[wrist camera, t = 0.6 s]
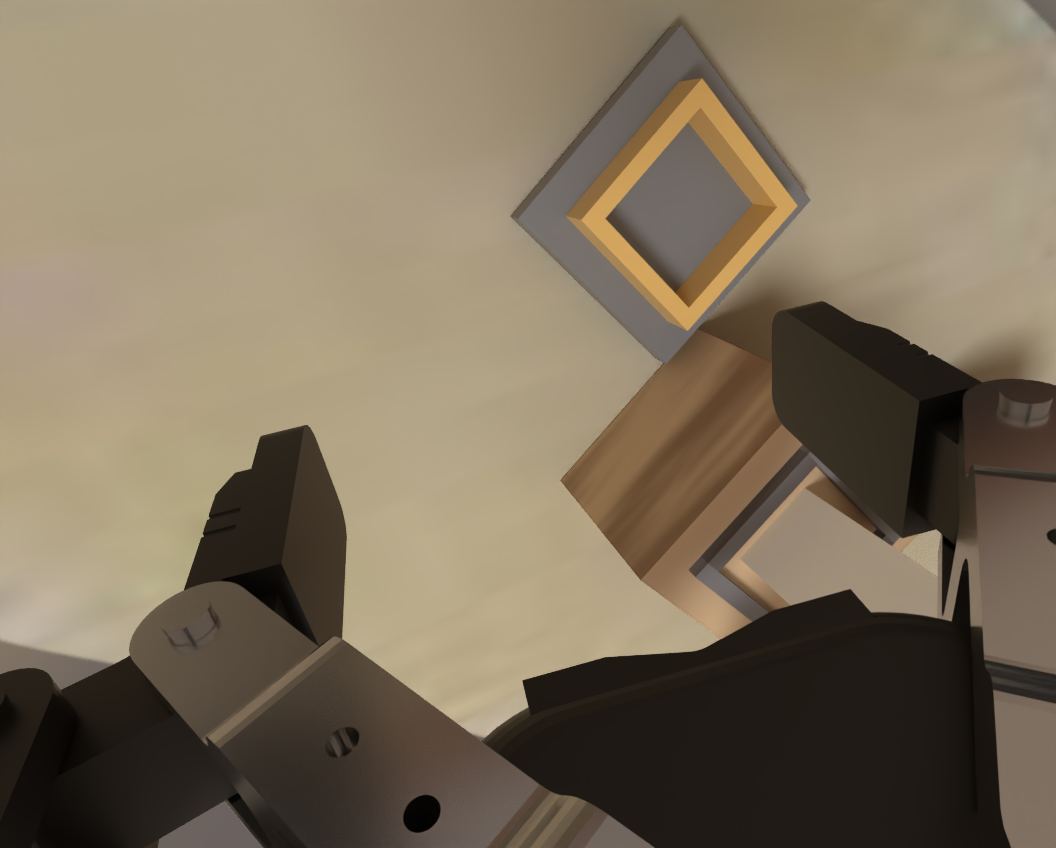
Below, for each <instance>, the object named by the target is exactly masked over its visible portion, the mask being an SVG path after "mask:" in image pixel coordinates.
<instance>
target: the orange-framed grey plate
mask: <svg viewBox="0 0 1056 848" xmlns="http://www.w3.org/2000/svg"><path fill="white" fill-rule="evenodd" d="M809 202H810V199H809V197H808V196H807V195H806V193H805V192H804V191H803V189H802V188H801V186H800V185H799V184H798V182H797V181H796V180H795V178H794V177H793V176H792V174H791V173H790V171H789V170H788V169H787V167H786V166H785V165H784V163H783V162H782V161H781V159H780V158H779V156H778V155H777V154H776V152H775V151H774V150H773V148H772V147H771V146H770V144H769V143H768V141H767V140H766V139H765V137H764V136H763V135H762V133H761V132H760V131H759V129H758V128H757V126H756V125H755V124H754V122H753V121H752V120H751V118H750V117H749V116H748V114H747V113H746V111H745V110H744V109H743V107H742V106H741V105H740V103H739V102H738V101H737V99H736V98H735V96H734V95H733V94H732V92H731V91H730V90H729V88H728V87H727V86H726V84H725V83H724V81H723V80H722V79H721V77H720V76H719V75H718V73H717V72H716V71H715V69H714V68H713V66H712V65H711V64H710V62H709V61H708V60H707V58H706V57H705V56H704V54H703V53H702V51H701V50H700V49H699V47H698V46H697V45H696V43H695V42H694V41H693V39H692V38H691V36H690V35H689V34H688V32H687V31H686V30H685V28H684V27H683V26H682V25H679V26H675V27H672V28H669V29H668V30H667V31H666V32H665V34H664V35H663V36H662V37H661V38H660V39H659V41H658V42H657V43H656V44H655V45H654V47H653V48H652V49H651V50H650V51H649V53H648V54H647V55H646V56H645V57H644V59H643V60H642V61H641V62H640V63H639V64H638V66H637V67H636V68H635V69H634V70H633V72H632V73H631V74H630V75H629V76H628V78H627V79H626V80H625V81H624V82H623V83H622V85H621V86H620V87H619V88H618V89H617V91H616V92H615V93H614V94H613V95H612V97H611V98H610V99H609V100H608V101H607V102H606V104H605V105H604V106H603V107H602V108H601V110H600V111H599V112H598V113H597V114H596V116H595V117H594V118H593V119H592V120H591V121H590V123H589V124H588V125H587V126H586V127H585V129H584V130H583V131H582V132H581V133H580V135H579V136H578V137H577V138H576V139H575V141H574V142H573V143H572V144H571V145H570V146H569V148H568V149H567V150H566V151H565V152H564V154H563V155H562V156H561V157H560V158H559V160H558V161H557V162H556V163H555V164H554V165H553V167H552V168H551V169H550V170H549V171H548V173H547V174H546V175H545V176H544V177H543V179H542V180H541V181H540V182H539V183H538V184H537V186H536V187H535V188H534V189H533V190H532V192H531V193H530V194H529V195H528V196H527V198H526V199H525V200H524V201H523V202H522V204H521V205H520V206H519V207H518V208H517V209H516V211H515V212H514V213H513V214H512V215H511V217H512V218H513V219H514V220H515V221H516V222H517V223H518V224H519V225H520V226H521V227H522V228H523V229H524V230H525V231H526V232H527V233H528V234H529V235H530V236H531V237H532V238H533V239H534V240H535V241H536V242H537V243H538V244H539V245H540V246H541V247H542V248H543V249H544V250H545V251H546V252H547V253H548V254H549V255H551V256H552V257H553V258H554V259H555V260H556V261H557V262H558V263H559V264H560V265H561V266H562V267H563V268H564V269H565V270H566V271H567V272H568V273H569V274H570V275H571V276H572V277H573V278H574V279H575V280H576V281H577V282H578V283H579V284H580V285H581V286H582V287H583V288H584V289H585V290H586V291H587V292H588V293H589V294H590V295H591V296H592V297H593V298H595V299H596V300H597V301H598V302H599V303H600V304H601V305H602V306H603V307H604V308H605V309H606V310H607V311H608V312H609V313H610V314H611V315H612V316H613V317H614V318H615V319H616V320H617V321H618V322H619V323H620V324H621V325H622V326H623V327H624V328H625V329H626V330H627V331H628V332H629V333H630V334H631V335H632V336H633V337H634V338H635V339H636V340H637V341H638V342H640V343H641V344H642V345H643V346H644V347H645V348H646V349H647V350H648V351H649V352H650V353H651V354H652V355H653V356H654V357H655V358H656V359H658V360H660V361H661V362H663V363H665V364H667V363H668V361H669V360H670V359H671V358H672V357H673V356H674V355H675V354H676V352H677V351H678V350H679V349H680V348H681V347H682V346H683V344H684V343H685V342H686V341H687V340H688V339H689V338H690V337H691V335H692V334H693V333H694V332H695V331H696V330H697V329H698V327H699V326H700V325H701V324H702V323H703V322H704V321H705V320H706V318H707V317H708V316H709V315H710V314H711V313H712V312H713V310H714V309H715V308H716V307H717V306H718V305H719V304H720V302H721V301H722V300H723V299H724V298H725V297H726V296H727V295H728V293H729V292H730V291H731V290H732V289H733V288H734V287H735V285H736V284H737V283H738V282H739V281H740V280H741V279H742V278H743V276H744V275H745V274H746V273H747V272H748V271H749V270H750V268H751V267H752V266H753V265H754V264H755V263H756V262H757V261H758V259H759V258H760V257H761V256H762V255H763V254H764V253H765V251H766V250H767V249H768V248H769V247H770V246H771V245H772V243H773V242H774V241H775V240H776V239H777V238H778V237H779V236H780V234H781V233H782V232H783V231H784V230H785V229H786V228H787V226H788V225H789V224H790V223H791V222H792V221H793V220H794V219H795V217H796V216H797V215H798V214H799V213H800V212H801V211H802V209H803V208H804V207H805V206H806V205H807V204H808V203H809Z"/></svg>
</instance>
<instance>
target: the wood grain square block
mask: <svg viewBox="0 0 1056 848" xmlns="http://www.w3.org/2000/svg"><path fill="white" fill-rule="evenodd" d="M561 482H562V483H563V484H564V486H565V487H566V488H567V489H568V491H569V492H570V493H571V494H572V496H573V497H574V498H575V499H576V501H577V502H578V503H579V504H580V505H581V507H582V508H583V509H584V510H585V512H586V513H587V514H588V515H589V517H590V518H591V519H592V520H593V522H594V523H595V524H596V525H597V527H598V528H599V529H600V530H601V532H602V533H603V534H604V535H605V536H606V538H607V539H608V540H609V541H610V543H611V544H612V545H613V546H614V548H615V549H616V550H617V551H618V553H619V554H620V555H621V556H622V558H623V559H624V560H625V561H626V563H627V564H628V565H629V566H630V567H631V569H632V570H633V571H634V572H635V574H636V575H637V576H638V577H639V579H640V580H641V581H643V582H644V583H645V584H647V585H648V586H649V587H651V588H652V589H653V590H655V591H656V592H658V593H659V594H660V595H662V596H663V597H664V598H666V599H667V600H668V601H670V602H671V603H672V604H674V605H675V606H677V607H678V608H679V609H681V610H682V611H683V612H685V613H686V614H687V615H689V616H690V617H692V618H693V619H694V620H696V621H697V622H698V623H700V624H701V625H702V626H704V627H705V628H707V629H708V630H709V631H711V632H712V633H713V634H715V635H716V636H717V637H719V638H720V639H722V638H724V637H726V636H728V635H729V634H731V633H733V632H735V631H737V630H738V629H740V628H742V627H744V626H746V625H747V624H749V623H751V622H753V621H755V620H756V619H758V618H760V617H762V616H764V615H765V614H767V613H769V612H771V611H773V610H776V609H780V608H784V607H787V606H791V605H789V604H788V603H787V602H786V601H785V600H784V599H783V598H782V597H781V596H780V595H779V594H778V593H776V592H775V591H774V590H773V589H772V588H771V587H770V586H769V585H768V584H767V583H766V582H765V581H763V580H762V579H761V578H760V577H759V576H758V575H757V574H756V573H755V572H754V571H753V570H751V569H750V568H749V567H748V566H747V565H746V564H745V563H744V562H743V561H742V560H741V559H740V558H741V557H742V556H743V555H744V554H745V553H746V551H747V550H748V549H749V548H750V547H751V546H752V545H753V544H754V543H755V542H756V541H757V539H758V538H759V537H760V536H761V535H762V534H763V533H764V532H765V531H766V530H767V529H768V528H769V526H770V525H771V524H772V523H773V522H774V521H775V520H776V519H777V518H778V517H779V516H780V514H781V513H782V512H783V511H784V510H785V509H786V508H787V507H788V506H789V505H790V504H791V502H792V501H793V500H794V499H795V498H796V497H797V496H798V495H799V494H800V493H801V492H802V490H803V489H804V488H806V489H807V490H809V491H810V492H812V493H813V494H815V495H816V496H818V497H819V498H821V499H822V500H824V501H825V502H827V503H828V504H830V505H831V506H833V507H834V508H836V509H837V510H839V511H840V512H842V513H843V514H844V515H846V516H847V517H849V518H850V519H852V520H853V521H855V522H856V523H858V524H859V525H861V526H862V527H864V528H865V529H867V530H868V531H870V532H871V533H873V534H874V535H876V536H877V537H879V538H880V539H882V540H883V541H885V542H886V543H888V544H889V545H891V546H892V547H894V548H895V549H897V550H898V551H900V552H902V551H903V550H904V548H905V547H906V546H907V545H908V544H909V543H910V542H911V541H912V540H913V539H914V538H915V537H916V536H917V535H918V534H917V535H913V536H910V537H906V538H901V537H900V536H899V535H898V534H897V533H896V532H895V531H894V530H893V529H891V528H890V527H889V526H888V525H887V524H886V523H885V522H884V521H883V520H882V519H881V518H880V517H879V516H878V515H877V514H876V513H875V512H874V511H872V510H871V509H870V508H869V507H868V506H867V505H866V504H865V503H864V502H863V501H862V500H861V499H860V498H859V497H858V496H857V495H856V494H855V493H853V492H852V491H851V490H850V489H849V488H848V487H847V486H846V485H845V484H844V483H843V482H842V481H841V480H840V479H839V478H838V477H837V476H836V475H835V474H833V473H832V472H831V471H830V470H829V469H828V468H827V467H826V466H825V465H824V464H823V463H822V462H821V461H820V460H819V459H818V458H817V457H816V456H814V455H813V454H812V453H811V452H810V451H809V450H808V449H807V448H806V447H805V446H804V445H803V444H802V443H801V442H800V441H799V440H798V439H797V438H795V437H794V436H793V435H792V434H791V433H790V432H789V431H788V430H787V429H786V428H785V427H784V426H783V425H782V423H781V422H780V420H779V418H778V416H777V414H776V411H775V408H774V405H773V400H772V362H769V361H767V360H765V359H763V358H761V357H758V356H756V355H754V354H752V353H750V352H747V351H745V350H743V349H741V348H739V347H736V346H734V345H732V344H730V343H728V342H725V341H723V340H721V339H719V338H717V337H714V336H712V335H710V334H708V333H706V332H703V331H701V330H699V329H697V330H696V331H695V332H694V333H693V334H692V335H691V337H690V338H689V339H688V340H687V341H686V342H685V343H684V344H683V346H682V347H681V348H680V349H679V350H678V351H677V352H676V354H675V355H674V356H673V357H672V358H671V359H670V360H669V361H668V363H667V364H665V363H664V364H663V365H662V366H661V367H660V368H659V369H658V371H657V372H656V373H655V374H654V375H653V376H652V377H651V379H650V380H649V381H648V382H647V383H646V384H645V385H644V386H643V388H642V389H641V390H640V391H639V392H638V393H637V394H636V396H635V397H634V398H633V399H632V400H631V401H630V402H629V403H628V405H627V406H626V407H625V408H624V409H623V410H622V411H621V413H620V414H619V415H618V416H617V417H616V418H615V419H614V421H613V422H612V423H611V424H610V425H609V426H608V427H607V428H606V430H605V431H604V432H603V433H602V434H601V435H600V436H599V438H598V439H597V440H596V441H595V442H594V443H593V444H592V445H591V447H590V448H589V449H588V450H587V451H586V452H585V453H584V455H583V456H582V457H581V458H580V459H579V460H578V461H577V463H576V464H575V465H574V466H573V467H572V468H571V469H570V470H569V472H568V473H567V474H566V475H565V476H564V477H563V478H562V480H561Z"/></svg>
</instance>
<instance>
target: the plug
mask: <svg viewBox="0 0 1056 848" xmlns="http://www.w3.org/2000/svg"><path fill="white" fill-rule="evenodd" d="M740 559H741V560H742V561H743V562H744V563H745V564H746V565H747V566H748V567H749V568H750V569H751V570H753V571H754V572H755V573H756V574H757V575H758V576H759V577H760V578H761V579H762V580H763V581H765V582H766V583H767V584H768V585H769V586H770V587H771V588H772V589H773V590H774V591H775V592H776V593H778V594H779V595H780V596H781V597H782V598H783V599H784V600H785V601H786V602H787V603H788V604H789V605H794V604H798V603H801V602H805V601H809V600H812V599H816V598H819V597H823V596H826V595H830V594H834V593H837V592H841V591H844V590H848V589H851V590H852V591H853V592H854V593H855V594H856V596H857V597H858V598H859V599H860V600H861V601H862V603H863V604H864V605H865V606H866V607H867V608H868V609H869V611H870V612H897V613H909V614H917V615H925V616H930V617H934V618H937V600H938V577H937V576H936V575H934V574H933V573H931V572H930V571H928V570H927V569H925V568H924V567H922V566H921V565H919V564H918V563H916V562H915V561H913V560H912V559H910V558H909V557H907V556H906V555H904V554H903V553H901V552H900V551H898V550H897V549H895V548H894V547H892V546H891V545H889V544H888V543H886V542H885V541H883V540H882V539H880V538H879V537H877V536H876V535H874V534H873V533H871V532H870V531H868V530H867V529H865V528H864V527H862V526H861V525H859V524H858V523H856V522H855V521H853V520H852V519H850V518H849V517H847V516H846V515H844V514H843V513H842V512H840V511H839V510H837V509H836V508H834V507H833V506H831V505H830V504H828V503H827V502H825V501H824V500H822V499H821V498H819V497H818V496H816V495H815V494H813V493H812V492H810V491H809V490H807V489H806V488H804V489H803V490H802V492H801V493H800V494H799V495H798V496H797V497H796V498H795V499H794V500H793V501H792V502H791V504H790V505H789V506H788V507H787V508H786V509H785V510H784V511H783V512H782V513H781V514H780V516H779V517H778V518H777V519H776V520H775V521H774V522H773V523H772V524H771V525H770V526H769V528H768V529H767V530H766V531H765V532H764V533H763V534H762V535H761V536H760V537H759V538H758V539H757V541H756V542H755V543H754V544H753V545H752V546H751V547H750V548H749V549H748V550H747V551H746V553H745V554H744V555H743V556H742V557H741V558H740Z"/></svg>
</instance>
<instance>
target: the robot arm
mask: <svg viewBox="0 0 1056 848" xmlns="http://www.w3.org/2000/svg"><path fill="white" fill-rule="evenodd" d="M772 400H773V405H774V408H775V411H776V414H777V416H778V418H779V420H780V422H781V423H782V425H783V426H784V427H785V428H786V429H787V430H788V431H789V432H790V433H791V434H792V435H793V436H794V437H795V438H797V439H798V440H799V441H800V442H801V443H802V444H803V445H804V446H805V447H806V448H807V449H808V450H809V451H810V452H811V453H812V454H813V455H814V456H816V457H817V458H818V459H819V460H820V461H821V462H822V463H823V464H824V465H825V466H826V467H827V468H828V469H829V470H830V471H831V472H832V473H833V474H835V475H836V476H837V477H838V478H839V479H840V480H841V481H842V482H843V483H844V484H845V485H846V486H847V487H848V488H849V489H850V490H851V491H852V492H853V493H855V494H856V495H857V496H858V497H859V498H860V499H861V500H862V501H863V502H864V503H865V504H866V505H867V506H868V507H869V508H870V509H871V510H872V511H874V512H875V513H876V514H877V515H878V516H879V517H880V518H881V519H882V520H883V521H884V522H885V523H886V524H887V525H888V526H889V527H890V528H891V529H893V530H894V531H895V532H896V533H897V534H898V535H899V536H900V537H901V538H906V537H910V536H913V535H917V534H920V533H924V532H928V531H931V530H935V529H937V530H938V531H939V532H940V533H941V539H940V545H939V551H938V600H937V618H934V617H930V616H925V615H917V614H909V613H897V612H870V611H869V609H868V608H867V607H866V606H865V605H864V604H863V603H862V601H861V600H860V599H859V598H858V597H857V596H856V594H855V593H854V592H853V591H852V590H851V589H848V590H844V591H841V592H837V593H834V594H830V595H826V596H823V597H819V598H816V599H812V600H809V601H805V602H801V603H798V604H794V605H791V606H787V607H784V608H780V609H776V610H773V611H771V612H769V613H767V614H765V615H764V616H762V617H760V618H758V619H756V620H755V621H753V622H751V623H749V624H747V625H746V626H744V627H742V628H740V629H738V630H737V631H735V632H733V633H731V634H729V635H728V636H726V637H724V638H722V639H720V640H719V641H717V642H715V643H713V644H711V645H710V646H708V647H706V648H704V649H701V650H698V651H693V652H681V653H665V654H649V655H634V656H618V657H605V658H601V659H598V660H594V661H590V662H587V663H583V664H580V665H576V666H573V667H569V668H565V669H562V670H558V671H555V672H551V673H548V674H544V675H540V676H537V677H533V678H530V679H526V680H523V685H524V689H525V694H526V698H527V702H528V706H529V707H528V708H526V709H525V710H523V711H521V712H519V713H518V714H516V715H514V716H513V717H511V718H510V719H508V720H507V721H506V722H504V723H503V724H501V725H500V726H498V727H497V728H496V729H495V730H493V731H492V732H491V733H490V734H489V735H488V736H487V737H485V738H484V739H483V740H482V741H480V740H479V739H477V738H476V737H475V736H473V735H472V734H471V733H469V732H468V731H467V730H465V729H464V728H462V727H461V726H460V725H458V724H457V723H456V722H454V721H453V720H452V719H450V718H449V717H448V716H446V715H445V714H443V713H442V712H441V711H439V710H438V709H437V708H435V707H434V706H433V705H431V704H430V703H429V702H427V701H426V700H424V699H423V698H422V697H420V696H419V695H418V694H416V693H415V692H414V691H412V690H411V689H410V688H408V687H407V686H406V685H404V684H403V683H401V682H400V681H399V680H397V679H396V678H395V677H393V676H392V675H391V674H389V673H388V672H387V671H385V670H384V669H382V668H381V667H380V666H378V665H377V664H376V663H374V662H373V661H372V660H370V659H369V658H368V657H366V656H365V655H363V654H362V653H361V652H359V651H358V650H357V649H355V648H354V647H353V646H351V645H350V644H349V643H347V642H346V641H344V640H343V639H342V628H343V606H344V584H345V563H346V541H347V535H346V526H345V520H344V515H343V511H342V508H341V504H340V501H339V499H338V496H337V493H336V491H335V488H334V485H333V483H332V480H331V478H330V475H329V472H328V470H327V467H326V464H325V462H324V459H323V456H322V454H321V451H320V449H319V446H318V443H317V441H316V438H315V436H314V434H313V432H312V430H311V428H310V427H309V426H308V425H304V426H300V427H296V428H292V429H288V430H284V431H279V432H275V433H271V434H267V435H263V436H261V437H260V439H259V443H258V446H257V450H256V454H255V457H254V461H253V465H252V468H251V469H249V470H245V471H241V472H237V473H235V474H234V475H233V476H232V477H231V478H230V479H229V480H228V481H227V482H226V484H225V485H224V486H223V487H222V488H221V489H220V490H219V491H218V493H217V494H216V495H215V498H214V501H213V504H212V507H211V510H210V513H209V518H210V519H209V520H207V522H206V525H205V528H204V531H203V535H204V537H202V538H201V540H200V543H199V546H198V549H197V552H196V555H195V558H194V561H193V564H192V567H191V570H190V573H189V576H188V579H187V582H186V585H185V588H184V591H182V592H180V593H178V594H176V595H174V596H172V597H171V598H169V599H167V600H166V601H164V602H163V603H162V604H160V605H159V606H157V607H156V608H155V609H154V610H153V611H152V612H150V613H149V614H148V615H147V616H146V618H145V619H144V620H143V621H142V622H141V623H140V625H139V626H138V627H137V629H136V630H135V632H134V634H133V636H132V639H131V642H130V647H129V652H130V656H128V657H127V658H125V659H123V660H121V661H119V662H118V663H116V664H114V665H112V666H110V667H107V668H106V669H103V670H101V671H99V672H97V673H95V674H93V675H92V676H89V677H87V678H85V679H83V680H81V681H79V682H77V683H74V684H72V685H71V686H68V687H66V688H64V689H62V690H60V689H59V687H58V686H57V685H56V683H55V682H54V681H53V680H52V678H51V677H50V675H49V674H48V673H46V672H45V671H43V670H40V669H36V668H26V669H17V670H13V671H9V672H6V673H3V674H0V848H157V847H158V842H159V839H160V838H161V837H163V836H165V835H167V834H168V833H170V832H172V831H173V830H175V829H177V828H178V827H180V826H182V825H184V824H185V823H187V822H189V821H191V820H192V819H194V818H196V817H197V816H199V815H201V814H203V813H204V812H206V811H208V810H209V809H211V808H213V807H215V806H216V805H218V804H220V803H221V802H223V801H225V802H226V803H227V805H228V806H229V807H230V808H231V810H232V811H233V812H234V813H235V814H236V816H237V817H238V818H239V819H240V820H241V822H242V823H243V824H244V825H245V827H246V828H247V829H248V830H249V831H250V833H251V834H252V835H253V836H254V837H255V839H256V840H257V841H258V842H259V843H260V845H261V846H262V847H263V848H1056V385H1053V384H1049V383H1044V382H1040V381H1033V380H1024V379H1000V380H992V381H987V382H983V383H982V382H980V381H978V380H976V379H975V378H973V377H971V376H969V375H968V374H966V373H964V372H962V371H961V370H959V369H957V368H955V367H954V366H952V365H950V364H948V363H947V362H945V361H943V360H941V359H940V358H938V357H936V356H934V355H933V354H932V355H928V352H927V351H926V350H924V349H922V348H920V347H919V346H917V345H915V344H912V345H910V341H908V340H906V339H905V338H903V337H901V336H899V335H898V334H896V333H894V332H892V331H890V330H889V329H886V328H882V327H879V326H875V325H871V324H867V323H864V322H860V321H856V320H855V319H853V318H851V317H850V316H848V315H846V314H844V313H843V312H841V311H839V310H838V309H836V308H834V307H833V306H831V305H829V304H827V303H825V302H822V301H820V302H816V303H812V304H807V305H803V306H799V307H795V308H791V309H787V310H783V311H779V312H778V313H777V314H776V315H775V317H774V320H773V324H772Z"/></svg>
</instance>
